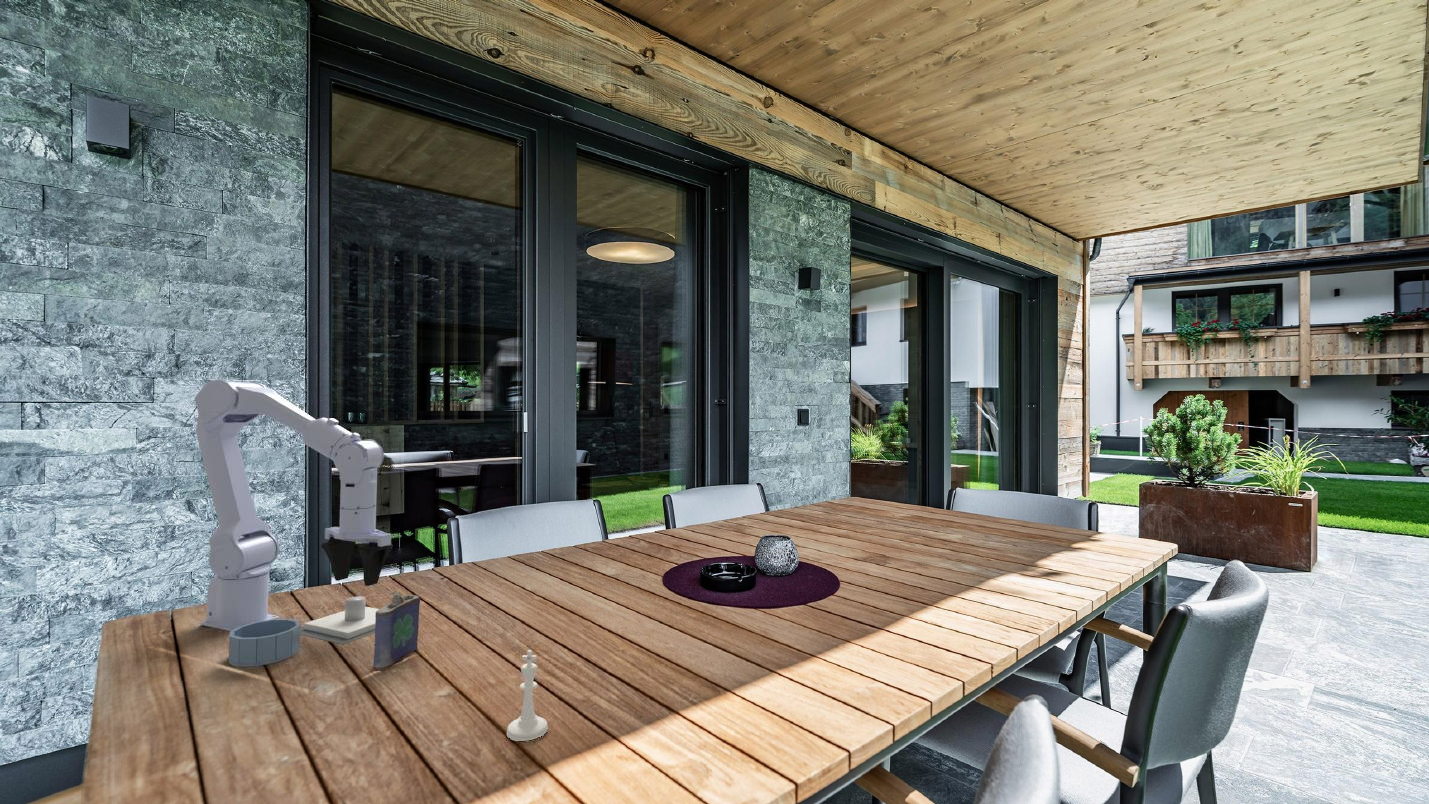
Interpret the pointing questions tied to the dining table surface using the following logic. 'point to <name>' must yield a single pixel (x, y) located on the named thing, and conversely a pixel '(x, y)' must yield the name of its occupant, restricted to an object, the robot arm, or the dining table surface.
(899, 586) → the dining table surface
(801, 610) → the dining table surface
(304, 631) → the mat
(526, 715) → the chess piece
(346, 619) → the lid
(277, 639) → the bowl
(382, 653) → the flask
